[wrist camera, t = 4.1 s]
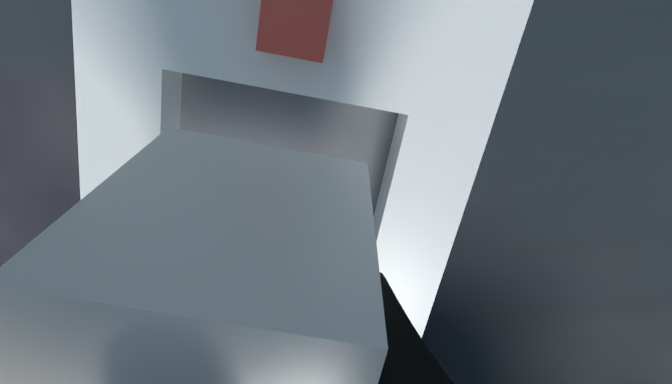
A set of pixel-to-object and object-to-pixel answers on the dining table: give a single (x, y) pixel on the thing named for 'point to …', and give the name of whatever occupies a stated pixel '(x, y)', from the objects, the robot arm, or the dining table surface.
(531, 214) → the dining table surface
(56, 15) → the dining table surface
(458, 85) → the socket plate
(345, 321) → the plug
